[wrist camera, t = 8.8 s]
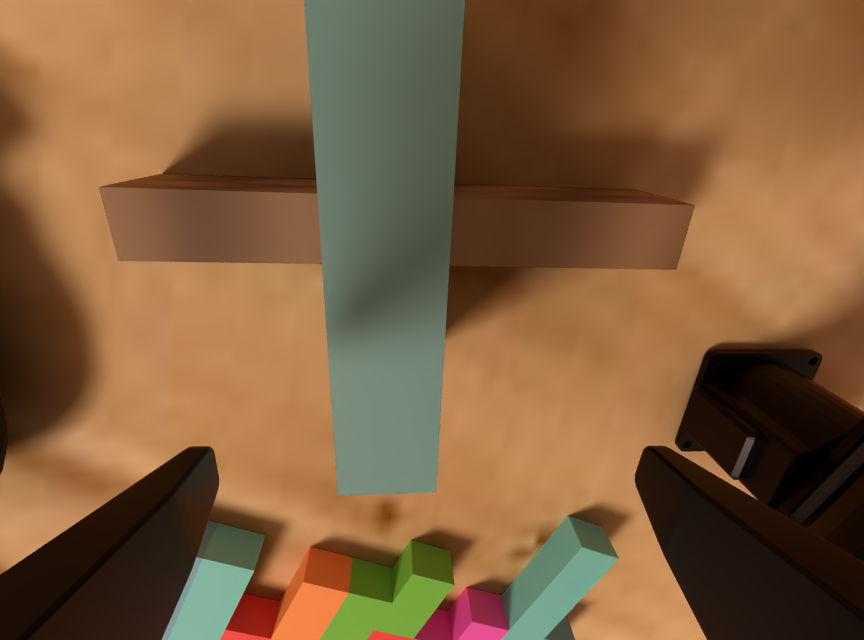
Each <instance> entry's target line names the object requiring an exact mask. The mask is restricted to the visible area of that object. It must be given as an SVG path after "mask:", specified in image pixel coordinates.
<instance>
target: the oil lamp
mask: <svg viewBox="0 0 864 640" xmlns="http://www.w3.org/2000/svg"><path fill="white" fill-rule="evenodd" d="M7 443H8V435H7V421H6V416H5V412H4V408H3V404H2V401H1V398H0V474H1V472H2V470H3V465H4V460H5V455H6V449H7Z"/></svg>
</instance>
